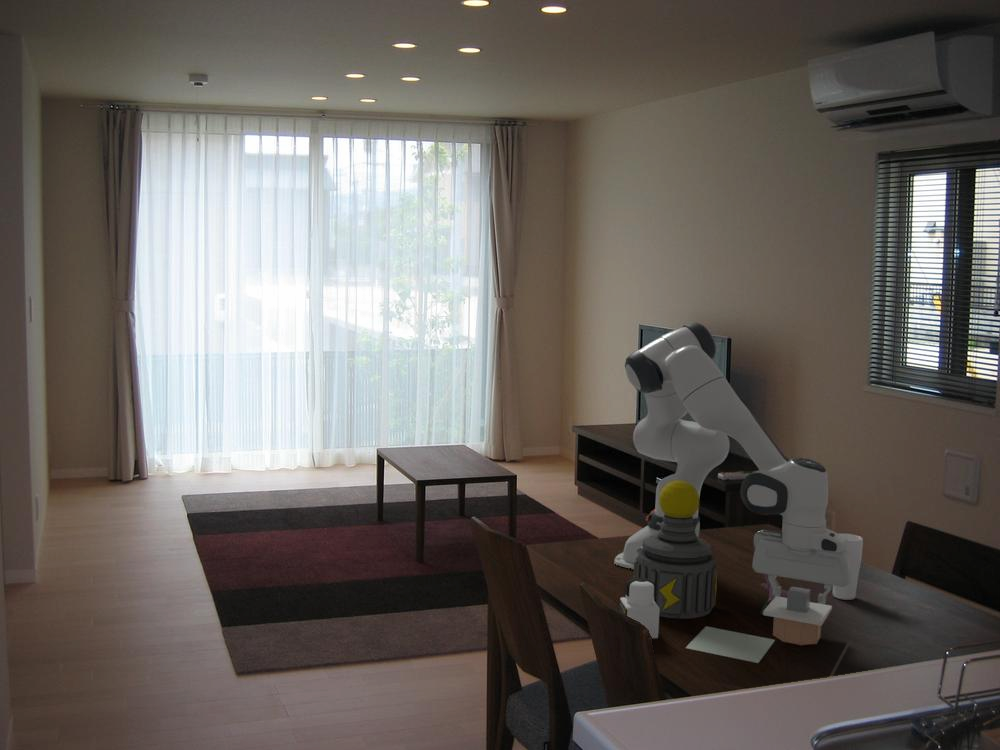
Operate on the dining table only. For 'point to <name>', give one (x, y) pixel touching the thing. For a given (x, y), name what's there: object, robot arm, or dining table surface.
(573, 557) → the dining table surface
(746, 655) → the mat
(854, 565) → the drinking glass
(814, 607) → the lid
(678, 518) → the decorative lamp
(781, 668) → the dining table surface
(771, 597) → the lily
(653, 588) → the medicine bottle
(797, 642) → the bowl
